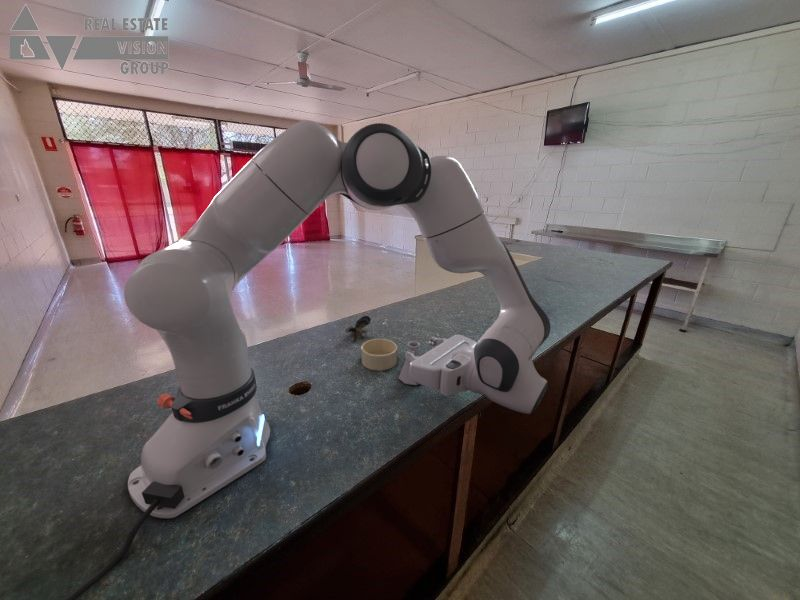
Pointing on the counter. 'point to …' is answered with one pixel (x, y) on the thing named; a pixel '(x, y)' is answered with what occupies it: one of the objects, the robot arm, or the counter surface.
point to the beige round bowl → (379, 354)
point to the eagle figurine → (359, 327)
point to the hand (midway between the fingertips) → (418, 346)
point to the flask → (404, 372)
